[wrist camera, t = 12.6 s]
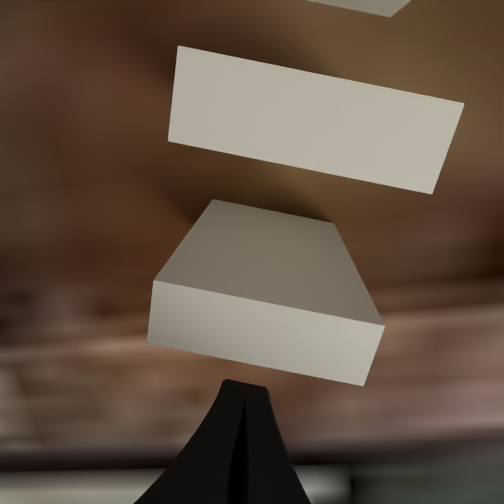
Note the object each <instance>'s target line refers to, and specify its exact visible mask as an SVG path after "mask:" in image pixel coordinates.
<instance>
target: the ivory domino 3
mask: <svg viewBox="0 0 504 504" xmlns="http://www.w3.org/2000/svg"><path fill="white" fill-rule="evenodd" d="M384 328H385V325H384V323H383V321H382V319H381V317H380V315H379V313H378V311H377V309H376V307H375V305H374V303H373V301H372V299H371V297H370V295H369V293H368V291H367V289H366V287H365V285H364V283H363V281H362V279H361V277H360V275H359V273H358V271H357V269H356V267H355V265H354V263H353V261H352V259H351V257H350V255H349V253H348V251H347V249H346V247H345V245H344V243H343V241H342V239H341V237H340V235H339V233H338V231H337V229H336V227H335V225H334V223H331V222H326V221H321V220H316V219H311V218H306V217H301V216H296V215H291V214H286V213H281V212H276V211H271V210H266V209H261V208H256V207H251V206H246V205H241V204H236V203H231V202H226V201H221V200H216V199H213V200H212V201H211V202H210V204H209V205H208V207H207V208H206V209H205V211H204V212H203V213H202V215H201V216H200V217H199V219H198V220H197V222H196V223H195V224H194V226H193V227H192V228H191V230H190V231H189V232H188V234H187V235H186V237H185V238H184V239H183V241H182V242H181V243H180V245H179V246H178V247H177V249H176V250H175V252H174V253H173V254H172V256H171V257H170V258H169V260H168V261H167V262H166V264H165V265H164V267H163V268H162V269H161V271H160V272H159V273H158V275H157V276H156V277H155V279H154V281H153V290H152V299H151V308H150V318H149V327H148V336H147V344H152V345H157V346H162V347H167V348H173V349H178V350H183V351H188V352H193V353H198V354H203V355H208V356H213V357H218V358H223V359H228V360H233V361H238V362H243V363H248V364H254V365H259V366H264V367H269V368H274V369H279V370H284V371H289V372H294V373H299V374H304V375H309V376H314V377H319V378H324V379H329V380H335V381H340V382H345V383H350V384H355V385H360V386H364V383H365V380H366V378H367V375H368V372H369V369H370V367H371V364H372V361H373V358H374V355H375V353H376V350H377V347H378V344H379V342H380V339H381V336H382V333H383V330H384Z"/></svg>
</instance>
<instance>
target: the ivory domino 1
mask: <svg viewBox="0 0 504 504" xmlns="http://www.w3.org/2000/svg"><path fill="white" fill-rule="evenodd" d="M307 1H312V2H317V3H322V4H327V5H332V6H337V7H342V8H347V9H351V10H356V11H361V12H366V13H371V14H376V15H381V16H386V17H391V16H393V15H394V14H395V13H396V12H397V11H399V10H400V9H401V8H402V7H404V6H405V5H406V4H407V3H408V2H410V1H411V0H307Z"/></svg>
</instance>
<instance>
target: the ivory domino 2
mask: <svg viewBox="0 0 504 504" xmlns="http://www.w3.org/2000/svg"><path fill="white" fill-rule="evenodd" d="M463 107H464V103H460V102H455V101H450V100H445V99H440V98H435V97H430V96H425V95H420V94H415V93H410V92H405V91H400V90H395V89H390V88H385V87H380V86H376V85H371V84H366V83H361V82H356V81H351V80H346V79H341V78H336V77H331V76H326V75H321V74H316V73H311V72H306V71H301V70H297V69H292V68H287V67H282V66H277V65H272V64H267V63H262V62H257V61H252V60H247V59H242V58H237V57H232V56H227V55H222V54H218V53H213V52H208V51H203V50H198V49H193V48H188V47H183V46H178V50H177V60H176V69H175V78H174V88H173V97H172V107H171V116H170V125H169V135H168V141H170V142H175V143H180V144H185V145H190V146H195V147H200V148H205V149H209V150H214V151H219V152H224V153H229V154H234V155H239V156H244V157H249V158H254V159H259V160H264V161H269V162H274V163H279V164H284V165H289V166H294V167H299V168H304V169H309V170H314V171H319V172H324V173H329V174H334V175H339V176H344V177H349V178H354V179H359V180H364V181H369V182H374V183H378V184H383V185H388V186H393V187H398V188H403V189H408V190H413V191H418V192H423V193H428V194H432V193H433V190H434V187H435V185H436V182H437V179H438V176H439V174H440V171H441V168H442V165H443V163H444V160H445V157H446V154H447V151H448V149H449V146H450V143H451V140H452V138H453V135H454V132H455V129H456V126H457V124H458V121H459V118H460V115H461V113H462V110H463Z"/></svg>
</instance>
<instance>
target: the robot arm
mask: <svg viewBox="0 0 504 504" xmlns="http://www.w3.org/2000/svg"><path fill="white" fill-rule="evenodd" d="M134 504H311V503H310V501H309V499H308V497H307V495H306V493H305V491H304V489H303V487H302V485H301V483H300V481H299V478H298V476H297V474H296V472H295V469H294V467H293V465H292V463H291V460H290V458H289V455H288V453H287V450H286V448H285V445H284V442H283V440H282V437H281V434H280V431H279V428H278V426H277V422H276V419H275V416H274V413H273V409H272V405H271V401H270V397H269V392H268V390H267V388H266V387H262V386H257V385H253V384H248V383H243V382H239V381H234V380H229V379H226V380H224V381H222V385H221V388H220V391H219V393H218V395H217V397H216V399H215V401H214V403H213V405H212V407H211V409H210V410H209V412H208V413H207V415H206V417H205V418H204V420H203V421H202V423H201V425H200V426H199V428H198V429H197V431H196V432H195V433H194V435H193V436H192V437H191V439H190V440H189V441H188V443H187V444H186V446H185V447H184V448H183V450H182V451H181V452H180V453H179V455H178V456H177V457H176V458H175V460H174V461H173V462H172V463H171V464H170V466H169V467H168V468H167V469H166V470H165V471H164V472H163V474H162V475H161V476H160V477H159V478H158V479H157V480H156V481H155V482H154V483H153V484H152V485H151V486H150V487H149V488H148V490H147V491H146V492H145V493H144V494H143V495H142V496H141V497H140V498H139V499H138V500H137V501H136V502H135V503H134Z"/></svg>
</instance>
